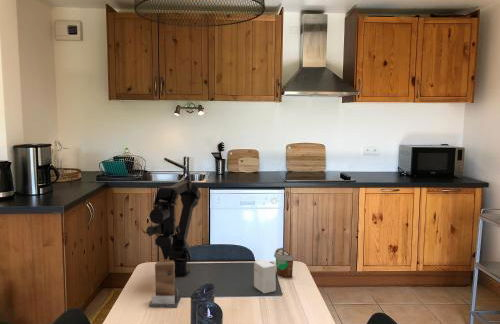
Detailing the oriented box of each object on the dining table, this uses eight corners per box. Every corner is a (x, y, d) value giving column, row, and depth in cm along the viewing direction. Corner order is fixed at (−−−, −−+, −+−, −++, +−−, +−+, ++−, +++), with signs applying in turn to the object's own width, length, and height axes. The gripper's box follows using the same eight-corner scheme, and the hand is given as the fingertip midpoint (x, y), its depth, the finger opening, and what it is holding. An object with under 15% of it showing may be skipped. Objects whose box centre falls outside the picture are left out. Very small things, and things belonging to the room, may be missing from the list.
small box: (275, 291, 162) (276, 265, 161) (263, 294, 159) (263, 267, 158) (265, 284, 169) (265, 259, 168) (253, 286, 166) (253, 261, 165)
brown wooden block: (157, 297, 153) (157, 261, 151) (175, 298, 153) (174, 261, 151) (155, 302, 149) (154, 265, 147) (172, 303, 149) (172, 265, 147)
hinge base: (154, 297, 156) (154, 287, 155) (181, 297, 155) (180, 287, 155) (149, 307, 148) (148, 296, 147) (176, 307, 147) (176, 296, 147)
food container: (269, 269, 185) (270, 248, 183) (282, 268, 186) (282, 247, 185) (280, 280, 173) (280, 257, 172) (293, 278, 175) (293, 255, 174)
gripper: (153, 212, 175) (154, 248, 176) (141, 223, 156) (142, 263, 158) (179, 212, 175) (180, 248, 176) (170, 223, 156) (171, 263, 158)
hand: (168, 255), depth 167 cm, fingers open, 9 cm apart
